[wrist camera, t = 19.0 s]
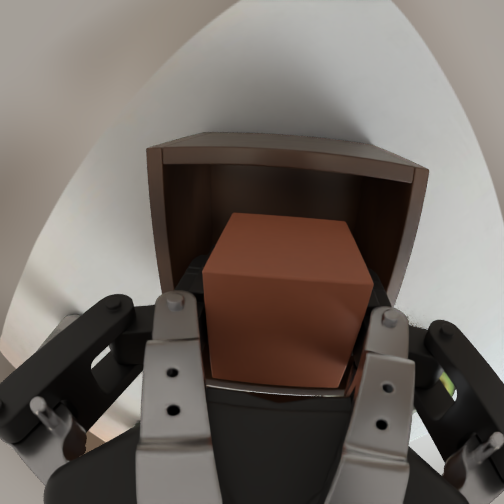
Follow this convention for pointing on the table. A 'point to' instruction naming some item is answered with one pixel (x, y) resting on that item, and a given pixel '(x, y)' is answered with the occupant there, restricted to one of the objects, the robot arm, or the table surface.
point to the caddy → (282, 204)
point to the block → (284, 300)
